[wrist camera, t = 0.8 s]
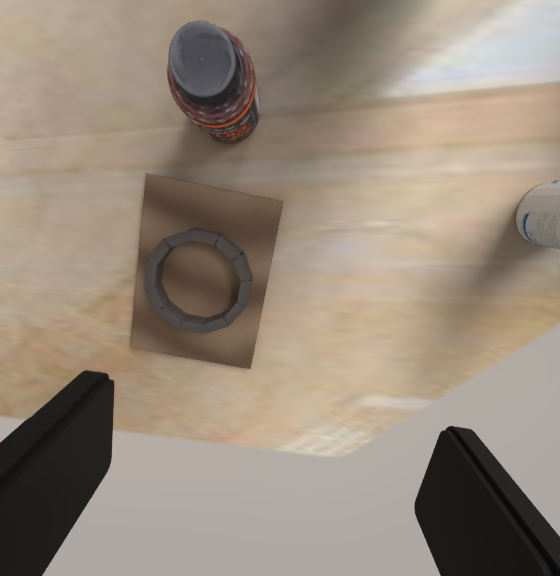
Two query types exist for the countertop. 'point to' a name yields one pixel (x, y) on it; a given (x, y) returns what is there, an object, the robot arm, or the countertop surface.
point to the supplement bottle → (214, 81)
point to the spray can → (541, 215)
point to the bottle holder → (202, 270)
